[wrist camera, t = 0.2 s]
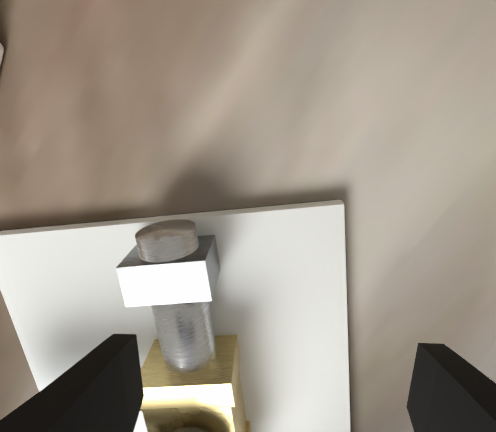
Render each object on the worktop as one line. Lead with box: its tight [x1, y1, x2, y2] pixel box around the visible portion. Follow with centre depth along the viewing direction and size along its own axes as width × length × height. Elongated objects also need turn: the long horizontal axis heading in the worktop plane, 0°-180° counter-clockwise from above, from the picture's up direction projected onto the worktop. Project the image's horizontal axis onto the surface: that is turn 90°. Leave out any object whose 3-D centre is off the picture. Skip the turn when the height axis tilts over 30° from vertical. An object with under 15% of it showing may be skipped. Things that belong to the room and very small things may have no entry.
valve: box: [116, 219, 252, 432], centre depth 19 cm, size 18×5×4 cm, turn 6°
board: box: [0, 200, 350, 432], centre depth 21 cm, size 18×19×1 cm
